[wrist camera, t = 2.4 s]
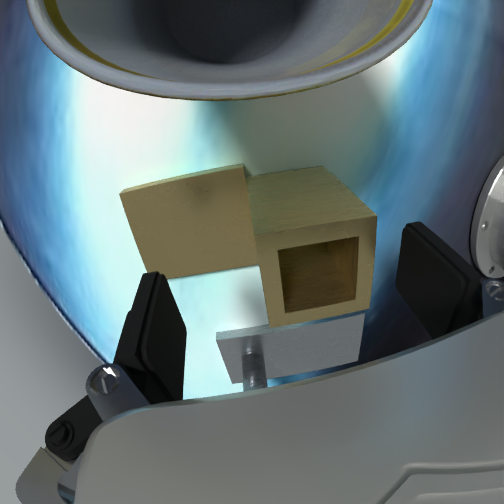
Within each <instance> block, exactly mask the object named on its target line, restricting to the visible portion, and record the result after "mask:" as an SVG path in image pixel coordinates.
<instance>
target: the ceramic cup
mask: <svg viewBox="0 0 504 504" xmlns="http://www.w3.org/2000/svg"><path fill="white" fill-rule="evenodd" d="M432 2H433V0H26V3H27V8H28V12H29V16H30V19H31V21H32V23H33V25H34V27H35V30H36V32H37V34H38V35H39V37H40V38H41V40H42V41H43V42H44V44H45V45H46V46H47V47H48V48H49V49H50V50H51V51H52V52H53V54H55V55H56V56H57V57H59V58H60V59H61V60H62V61H64V62H65V63H66V64H67V65H69V66H70V67H72V68H73V69H75V70H77V71H79V72H81V73H82V74H84V75H86V76H88V77H90V78H92V79H94V80H96V81H99V82H101V83H103V84H106V85H109V86H113V87H116V88H119V89H123V90H126V91H130V92H135V93H139V94H144V95H150V96H155V97H161V98H171V99H183V100H199V101H229V100H247V99H257V98H266V97H275V96H281V95H286V94H291V93H297V92H302V91H306V90H310V89H314V88H318V87H321V86H325V85H328V84H332V83H334V82H337V81H340V80H343V79H346V78H348V77H351V76H353V75H355V74H358V73H360V72H362V71H364V70H366V69H368V68H370V67H372V66H373V65H375V64H377V63H379V62H381V61H382V60H384V59H385V58H387V57H388V56H390V55H391V54H392V53H394V52H395V51H396V50H397V49H399V48H400V47H401V46H403V45H404V44H405V43H406V42H407V41H408V40H409V39H410V38H411V36H412V35H413V34H414V33H415V32H416V31H417V30H418V29H419V27H420V26H421V24H422V23H423V21H424V20H425V18H426V16H427V14H428V12H429V10H430V8H431V6H432Z"/></svg>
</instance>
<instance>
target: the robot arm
mask: <svg viewBox="0 0 504 504" xmlns="http://www.w3.org/2000/svg"><path fill="white" fill-rule="evenodd" d="M470 239H471V253H472V258H473V261H474V263H475V265H476V266H477V268H478V269H479V270H480V271H481V272H482V273H483V274H484V275H485V276H487V277H490V278H491V279H487V280H485V281H484V282H483V283H482V285H481V284H480V282H479V281H480V278H481V275H480V274H479V273H478V272H477V271H476V270H475V269H474V268H473V267H472V266H471V265H470V264H469V263H468V262H466V261H465V260H464V259H463V258H462V257H461V256H460V255H459V254H458V253H457V252H455V251H454V250H453V249H452V248H451V247H450V246H449V245H448V244H446V243H445V242H444V241H443V240H442V239H441V238H439V237H438V236H437V235H436V234H435V233H434V232H432V231H431V230H430V229H429V228H427V227H426V226H425V225H424V224H423V223H421V222H413V223H408V224H406V226H405V228H403V231H402V239H401V247H400V255H399V263H398V270H397V276H396V288H397V290H398V291H399V293H400V294H401V295H402V297H403V298H404V299H405V301H406V302H407V303H408V305H409V306H410V307H411V309H412V310H413V312H414V313H415V314H416V316H417V317H418V319H419V320H420V321H421V323H422V324H423V326H424V327H425V329H426V330H427V332H428V333H429V334H430V336H431V337H432V339H433V340H431V341H429V342H426V343H424V344H421V345H418V346H416V347H413V348H410V349H407V350H405V351H402V352H399V353H396V354H393V355H390V356H387V357H384V358H381V359H378V360H375V361H372V362H368V363H365V364H362V365H358V366H355V367H352V368H348V369H345V370H341V371H337V372H334V373H330V374H326V375H322V376H318V377H314V378H310V379H305V380H301V381H297V382H292V383H287V384H283V385H278V386H273V387H267V388H262V389H256V390H250V391H244V392H238V393H231V394H225V395H218V396H211V397H204V398H195V399H187V400H183V383H184V366H185V351H186V337H187V331H186V326H185V324H184V321H183V319H182V317H181V314H180V312H179V309H178V307H177V304H176V302H175V299H174V297H173V294H172V292H171V289H170V287H169V284H168V282H167V279H166V277H165V275H164V274H160V273H159V272H158V271H155V272H149V273H144V274H143V275H142V278H141V281H140V284H139V287H138V290H137V293H136V296H135V299H134V302H133V305H132V309H131V310H130V311H129V312H128V314H127V316H126V320H125V323H124V326H123V329H122V333H121V336H120V340H119V343H118V347H117V350H116V354H115V357H114V361H113V364H111V363H108V364H104V365H101V366H99V367H97V368H96V369H95V370H94V371H92V372H91V374H90V375H89V377H88V379H87V382H86V391H87V394H88V395H87V396H85V397H84V398H83V399H81V400H80V401H79V402H78V403H76V404H75V405H74V406H73V407H71V408H70V409H69V410H68V411H66V412H65V413H64V414H62V415H61V416H60V417H59V418H57V419H56V420H55V421H54V422H52V424H51V425H50V426H49V427H48V429H47V431H46V435H45V443H46V447H45V449H43V448H42V447H40V449H39V450H38V452H37V453H36V455H35V456H34V457H33V459H32V460H31V462H30V463H29V464H28V466H27V467H26V468H25V470H24V471H23V473H22V474H21V476H20V477H19V479H18V481H17V483H16V494H17V497H18V498H19V500H20V501H21V503H22V504H504V282H503V281H501V280H498V279H493V278H501V277H503V276H504V156H503V157H502V158H501V159H500V160H499V161H498V162H497V164H496V165H495V167H494V168H493V169H492V171H491V172H490V174H489V176H488V178H487V180H486V182H485V184H484V186H483V189H482V191H481V194H480V196H479V199H478V202H477V205H476V209H475V212H474V217H473V222H472V229H471V238H470Z"/></svg>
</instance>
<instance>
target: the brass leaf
mask: <svg viewBox="0 0 504 504" xmlns="http://www.w3.org/2000/svg"><path fill="white" fill-rule="evenodd" d="M119 195H120V198H121V201H122V204H123V207H124V210H125V213H126V216H127V219H128V222H129V225H130V228H131V231H132V233H133V236H134V239H135V242H136V244H137V247H138V250H139V252H140V255H141V258H142V260H143V263H144V265H145V268H146V270H147V273H149V272H155V271H158V272H159V273H160V274H164V275H165V277H166V279H170V278H176V277H182V276H189V275H195V274H201V273H208V272H214V271H220V270H226V269H232V268H239V267H245V266H251V265H257V264H259V267H260V273H261V279H262V285H263V290H264V296H265V302H266V308H267V314H268V320H269V326H270V328H274V327H280V326H286V325H292V324H297V323H303V322H308V321H313V320H318V319H323V318H328V317H333V316H338V315H342V314H347V313H352V312H356V311H360V310H365V309H369V306H370V298H371V289H372V280H373V270H374V259H375V246H376V229H377V215H376V214H375V213H374V212H373V211H372V210H371V209H370V208H369V207H368V206H366V205H365V204H364V203H363V202H362V201H361V200H360V199H359V198H358V197H357V196H356V195H355V194H354V193H353V192H352V191H350V190H349V189H348V188H347V187H346V186H345V185H344V184H343V183H342V182H340V181H339V180H338V179H337V178H336V177H335V176H334V175H333V174H331V173H330V172H329V171H328V170H327V169H326V168H324V167H323V166H319V167H311V168H303V169H296V170H288V171H281V172H275V173H268V174H262V175H255V176H249V177H245V173H244V168H243V163H242V164H236V165H231V166H225V167H220V168H215V169H209V170H204V171H200V172H195V173H190V174H185V175H181V176H176V177H172V178H167V179H163V180H159V181H155V182H150V183H146V184H142V185H138V186H135V187H131V188H127V189H124V190H123V191H122V192H121V193H120V194H119Z"/></svg>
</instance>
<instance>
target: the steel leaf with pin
mask: <svg viewBox="0 0 504 504" xmlns="http://www.w3.org/2000/svg"><path fill="white" fill-rule="evenodd" d="M364 317H365V312H364V310H360V311H356V312H352V313H347V314H342V315H338V316H333V317H328V318H323V319H318V320H313V321H308V322H303V323H297V324H292V325H286V326H280V327H274V328H270V326H269V325H264V326H258V327H251V328H245V329H238V330H231V331H223V332H216V341H217V344H218V347H219V350H220V352H221V355H222V358H223V360H224V363H225V366H226V368H227V371H228V374H229V376H230V379H231V381H232V384H234V383H242V382H243V392H244V391H250V390H256V389H262V388H267V387H268V386H267V379H271V378H277V377H283V376H289V375H295V374H300V373H305V372H311V371H315V370H320V369H325V368H330V367H334V366H338V365H343V364H347V363H351V362H355V361H358V356H359V350H360V344H361V338H362V332H363V325H364Z"/></svg>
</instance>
